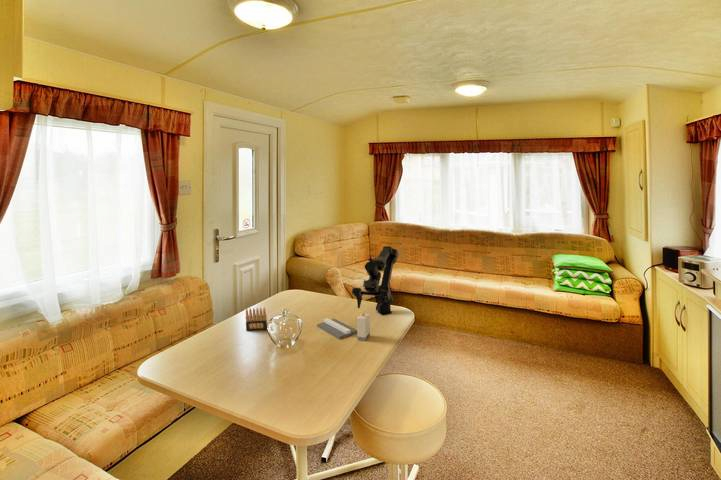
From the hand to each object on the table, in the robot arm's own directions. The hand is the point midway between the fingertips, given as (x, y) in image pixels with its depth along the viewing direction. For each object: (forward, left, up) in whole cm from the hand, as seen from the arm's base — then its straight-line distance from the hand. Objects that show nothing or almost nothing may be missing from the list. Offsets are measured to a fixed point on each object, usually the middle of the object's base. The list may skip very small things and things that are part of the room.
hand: (367, 309), depth 167 cm
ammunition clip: (+47, -33, -12) cm, 59 cm away
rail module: (+4, +4, -12) cm, 14 cm away
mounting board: (+12, -12, -12) cm, 21 cm away
